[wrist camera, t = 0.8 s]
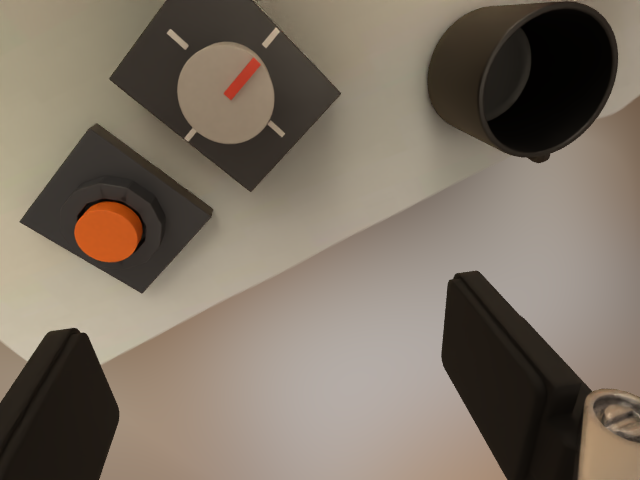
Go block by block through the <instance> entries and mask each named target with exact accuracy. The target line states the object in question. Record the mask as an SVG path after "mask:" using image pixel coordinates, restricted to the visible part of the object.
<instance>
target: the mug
mask: <svg viewBox="0 0 640 480" xmlns="http://www.w3.org/2000/svg"><path fill="white" fill-rule="evenodd" d="M617 67H618V49H617V43H616V39H615V36H614V33H613V31H612V28H611V26H610V25H609V23H608V22H607V21H606V19H605V18H604V17H603V16H602V15H601V14H600V13H599V12H598V11H596V10H595V9H593V8H591V7H589V6H587V5H585V4H581V3H578V2H568V1H563V2H548V3H533V4H519V5H504V6H490V7H483V8H480V9H477V10H474V11H471V12H470V13H468V14H466V15H464V16H463V17H461V18H460V19H458V20H457V21H456V22H455V23H454V24H453V25H452V26H451V27H450V28H449V29H448V30H447V31H446V32H445V34H444V35H443V36H442V38H441V39H440V41H439V42H438V44H437V46H436V48H435V50H434V53H433V55H432V58H431V61H430V65H429V71H428V91H429V96H430V99H431V102H432V105H433V107H434V109H435V110H436V112H437V113H438V114H439V116H440V117H441V118H442V119H443V120H444V121H446V122H447V123H448V124H450V125H452V126H453V127H455V128H457V129H459V130H461V131H463V132H465V133H467V134H469V135H471V136H473V137H475V138H477V139H479V140H481V141H483V142H485V143H487V144H489V145H491V146H493V147H495V148H497V149H499V150H500V151H502V152H504V153H507V154H510V155H513V156H518V157H527V158H529V159H530V160H531V161H533V162H536V163H541V162H544V161H546V160H548V159H549V157H550V153H553V152H555V151H558V150H560V149H562V148H564V147H565V146H567V145H569V144H570V143H572V142H573V141H574V140H576V139H577V138H578V137H579V136H581V134H583V133H584V132H585V131H586V130H587V129H588V128H589V127H590V126H591V124H592V123H593V122H594V121H595V119H596V118H597V117H598V116H599V114H600V113H601V111H602V109H603V108H604V106H605V104H606V102H607V100H608V98H609V96H610V94H611V91H612V88H613V85H614V82H615V78H616V73H617Z"/></svg>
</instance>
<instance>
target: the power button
mask: <svg viewBox="0 0 640 480" xmlns="http://www.w3.org/2000/svg"><path fill="white" fill-rule="evenodd" d="M142 233H143V228H142V223H141V221H140V219H139V217H138V216H137V214H136V213H135V212H134V211H133V210H131V209H130V208H129V207H127V206H125V205H123V204H120V203H117V202H110V201H106V202H100V203H97V204H94V205H93V206H91V207H90V208H89V209H88V210H87V211H86V212H85V213H84V214H83V215H82V216H81V218H80V219H79V220H78V222H77V223H76V226H75V231H74V234H75V239H76V242H77V244H78V246H79V247H80V248H81V249H82V251H83V252H85V253H86V254H87V255H89V256H90V257H92V258H94V259H96V260H99V261H103V262H118V261H121V260H124V259H126V258H128V257H129V256H130V255H131V254H132V253H133V252H134V251H135V249H136V247H137V245H138V243H139V241H140V239H141V237H142Z"/></svg>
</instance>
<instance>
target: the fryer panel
mask: <svg viewBox="0 0 640 480" xmlns="http://www.w3.org/2000/svg"><path fill="white" fill-rule="evenodd" d="M218 42H234V43H238V44H241V45H244V46H246V47H248V48H249V49H251V50H252V51H253V52H254V53H256V54H257V55H258V56H259V57H260V59H261V60H262V61H263V63H264V64H265V66H266V68H267V70H268V73H269V75H270V78H271V81H272V84H273V88H274V108H273V112H272V115H271V118H270V120H269V122H268V123H267V125H266V126H265V128H264V129H263V130H262V131H261V132H260V133H259V134H258V135H256V136H255V137H253V138H251V139H250V140H247V141H245V142H241V143H237V144H223V143H218V142H214V141H212V140H209V139H207V138H205V137H204V136H202V135H201V134H199V133H198V132H197V131H196V130H195V129H194V128H192V126H191V125H190V124H189V123H188V121H187V120H186V118H185V117H184V115H183V113H182V111H181V108H180V105H179V101H178V93H177V88H178V80H179V76H180V73H181V71H182V69H183V67H184V65H185V64H186V62H187V61H188V60H189V59H190V58H191V57H192V56H193V55H194V54H195V53H196V52H198V51H200V50H202V49H203V48H205V47H207V46H209V45H212V44H214V43H218ZM109 79H110V81H112V82H113V83H114V84H116V85H117V86H118V87H119V88H121V89H122V90H123V91H124V92H126V93H127V94H128V95H129V96H131V97H132V98H133V99H134V100H136V101H137V102H138V103H139V104H141V105H142V106H143V107H144V108H146V109H147V110H148V111H149V112H151V113H152V114H153V115H154V116H156V117H157V118H158V119H159V120H161V121H162V122H163V123H165V124H166V125H167V126H168V127H170V128H171V129H172V130H173V131H175V132H176V133H177V134H178V135H180V136H181V137H182V138H183V139H185V140H186V141H187V142H188V143H190V144H191V145H192V146H193V147H195V148H196V149H197V150H198V151H200V152H201V153H202V154H203V155H205V156H206V157H207V158H208V159H210V160H211V161H212V162H214V163H215V164H216V165H217V166H219V167H220V168H221V169H222V170H224V171H225V172H226V173H227V174H229V175H230V176H231V177H232V178H234V179H235V180H236V181H237V182H239V183H240V184H241V185H242V186H244V187H245V188H246V189H247V190H249V191H250V192H251V191H252V190H253V189H254V188H255V187H256V186H257V185H258V184H259V183H260V182H261V181H262V179H263V178H264V177H265V176H266V175H267V174H268V173H269V172H270V171H271V170H272V169H273V168H274V166H275V165H276V164H277V163H278V162H279V161H280V160H281V159H282V158H283V157H284V156H285V154H286V153H287V152H288V151H289V150H290V149H291V148H292V147H293V146H294V145H295V144H296V142H297V141H298V140H299V139H300V138H301V137H302V136H303V135H304V134H305V133H306V132H307V130H308V129H309V128H310V127H311V126H312V125H313V124H314V123H315V122H316V121H317V120H318V118H319V117H320V116H321V115H322V114H323V113H324V112H325V111H326V110H327V109H328V108H329V107H330V105H331V104H332V103H333V102H334V101H335V100H336V99H337V98H338V97H339V96H340V95H341V93H340V92H339V91H338V89H337V88H336V87H335V86H334V85H333V84H332V83H331V82H330V81H329V80H328V79H327V78H326V77H325V76H324V75H323V74H322V73H321V72H320V71H319V70H318V69H317V67H316V66H315V65H314V64H313V63H312V62H311V61H310V60H309V59H308V58H307V57H306V56H305V55H304V54H303V53H302V52H301V51H300V50H299V49H298V48H297V47H296V46H295V44H294V43H293V42H292V41H291V40H290V39H289V38H288V37H287V36H286V35H285V34H284V33H283V32H282V31H281V30H280V29H279V28H278V27H277V26H276V25H275V24H274V23H273V21H272V20H271V19H270V18H269V17H268V16H267V15H266V14H265V13H264V12H263V11H262V10H261V9H260V8H259V7H258V6H257V5H256V4H255V3H254V2H253V1H252V0H166V2H165V3H164V4H163V6H162V7H161V8H160V10H159V11H158V12H157V14H156V15H155V17H154V18H153V19H152V21H151V22H150V23H149V25H148V26H147V27H146V29H145V30H144V32H143V33H142V34H141V36H140V37H139V38H138V40H137V41H136V42H135V44H134V45H133V47H132V48H131V49H130V51H129V52H128V53H127V55H126V56H125V57H124V59H123V60H122V62H121V63H120V64H119V66H118V67H117V68H116V70H115V71H114V73H113V74H112V75H111V77H110V78H109Z"/></svg>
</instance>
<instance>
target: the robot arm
mask: <svg viewBox="0 0 640 480" xmlns="http://www.w3.org/2000/svg"><path fill="white" fill-rule="evenodd" d="M441 357H442V362H443V366H444V368H445V370H446V372H447V374H448V375H449V377H450V379H451V381H452V382H453V384H454V386H455V388H456V390H457V391H458V393H459V395H460V397H461V398H462V400H463V402H464V404H465V405H466V407H467V409H468V411H469V413H470V414H471V416H472V418H473V420H474V421H475V423H476V425H477V427H478V428H479V430H480V432H481V434H482V436H483V437H484V439H485V441H486V443H487V445H488V446H489V448H490V450H491V451H492V453H493V455H494V457H495V459H496V460H497V462H498V464H499V466H500V468H501V469H502V471H503V473H504V474H505V476H506V478H507V480H640V397H638V396H635V395H633V394H631V393H628V392H625V391H620V390H616V389H599V390H596V391H593V392H592V391H591V390H590V389H589V388H588V386H587V385H586V384H585V383H584V382H583V381H582V380H581V379H580V378H579V377H578V376H577V375H576V374H575V372H574V371H573V370H572V369H571V368H570V367H569V366H568V365H567V364H566V363H565V362H564V361H563V360H562V358H561V357H560V356H559V355H558V354H557V353H556V352H555V351H554V350H553V349H552V348H551V347H550V346H549V345H548V344H547V342H546V341H545V340H544V339H543V338H542V337H541V336H540V335H539V334H538V333H537V332H536V331H535V330H534V328H532V326H531V325H530V324H529V323H528V322H527V321H526V320H525V319H524V318H523V317H521V316H520V315H519V314H518V313H517V312H516V311H515V310H514V309H513V308H512V306H511V305H510V304H509V303H508V302H507V301H506V300H505V299H504V298H503V297H502V296H501V295H500V294H499V292H498V291H497V290H496V289H495V288H494V287H493V286H492V285H491V284H490V283H489V282H488V281H487V280H486V279H485V277H484V276H483V275H482V274H481V273H480V272H478V271H471V272H463V273H457V274H455V276H454V278H453V279H452V280H449V282H448V287H447V298H446V309H445V320H444V332H443V343H442V356H441ZM118 421H119V408H118V405H117V403H116V401H115V398H114V396H113V394H112V391H111V389H110V387H109V384H108V382H107V379H106V377H105V375H104V373H103V370H102V368H101V365H100V363H99V361H98V358H97V356H96V354H95V351H94V349H93V347H92V344H91V342H90V340H89V337H88V336H87V334H86V333H80V331H79V330H78V329H77V328H70V329H63V330H56V331H50V332H48V333H47V334H46V335H45V337H44V338H43V340H42V341H41V343H40V344H39V346H38V347H37V349H36V350H35V352H34V353H33V355H32V356H31V358H30V359H29V361H28V362H27V364H26V365H25V367H24V368H23V370H22V371H21V373H20V374H19V376H18V377H17V379H16V380H15V382H14V383H13V385H12V386H11V388H10V389H9V391H8V392H7V394H6V395H5V397H4V398H3V400H2V401H1V403H0V480H99V478H100V475H101V472H102V469H103V466H104V463H105V460H106V457H107V454H108V452H109V448H110V445H111V442H112V440H113V437H114V434H115V431H116V428H117V425H118Z"/></svg>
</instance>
